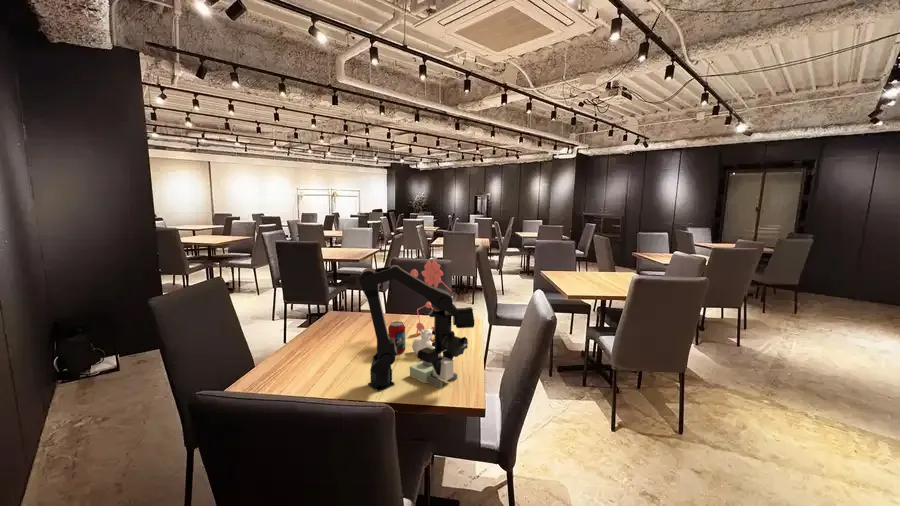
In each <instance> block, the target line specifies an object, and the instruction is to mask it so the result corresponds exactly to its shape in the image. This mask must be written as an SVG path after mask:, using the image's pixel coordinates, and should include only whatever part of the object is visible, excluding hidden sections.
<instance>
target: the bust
mask: <svg viewBox="0 0 900 506" xmlns="http://www.w3.org/2000/svg"><path fill="white" fill-rule="evenodd" d="M432 331H433V329H432V328H429V329H424V330H422V329H421V332H419V335H420V337H416V338H414V339H413V341H412V344H411V348H412V351H413V352H414V353H415V354H416V356H418V351H419V350H421V349H424V348H426V347H428V348H430V349H435V347H434V346H432V343H433V341H430V337H433V335H432Z"/></svg>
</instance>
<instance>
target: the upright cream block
mask: <svg viewBox="0 0 900 506" xmlns="http://www.w3.org/2000/svg"><path fill="white" fill-rule="evenodd" d="M441 357H442V358H444V359H443V360H442V361H441V372H440V375H437V373H436V371H435V369H434V367H433V376H435V377H437V378H436V379H439V380H441V381H444V382H447V381H449V380H450V379H451V378H452V377H453V372H454V367H455V366H454V365H455V364H454V362H455V361H454V359H453V360H452V359H449V358H446V357H444V356H443V355H441ZM454 373H455V372H454ZM451 380H452V379H451Z"/></svg>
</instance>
